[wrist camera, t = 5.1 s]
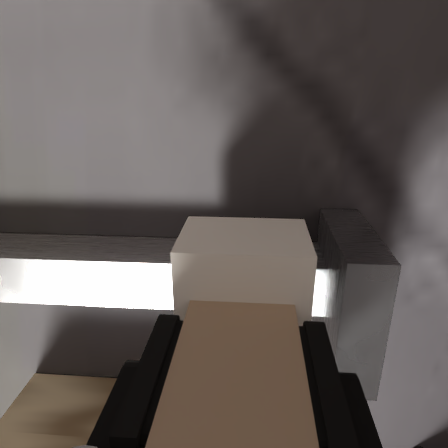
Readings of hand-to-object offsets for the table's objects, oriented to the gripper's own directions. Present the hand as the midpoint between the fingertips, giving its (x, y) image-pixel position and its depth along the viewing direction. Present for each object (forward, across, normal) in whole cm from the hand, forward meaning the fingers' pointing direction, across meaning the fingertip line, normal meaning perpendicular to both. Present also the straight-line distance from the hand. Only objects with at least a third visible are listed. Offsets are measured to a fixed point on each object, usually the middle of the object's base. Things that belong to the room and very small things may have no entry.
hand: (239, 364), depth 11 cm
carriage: (+4, 0, 0) cm, 4 cm away
